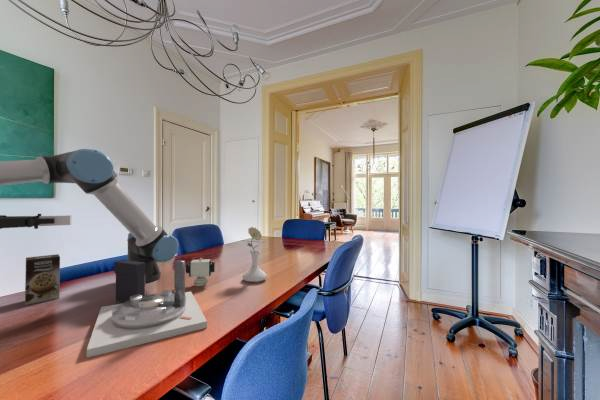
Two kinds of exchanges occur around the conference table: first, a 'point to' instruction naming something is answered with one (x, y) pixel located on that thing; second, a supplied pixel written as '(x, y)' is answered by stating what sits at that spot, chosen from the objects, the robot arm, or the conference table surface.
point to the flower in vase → (254, 260)
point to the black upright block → (129, 279)
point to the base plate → (142, 329)
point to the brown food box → (42, 278)
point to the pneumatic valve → (200, 270)
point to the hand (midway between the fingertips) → (70, 220)
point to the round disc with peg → (153, 305)
